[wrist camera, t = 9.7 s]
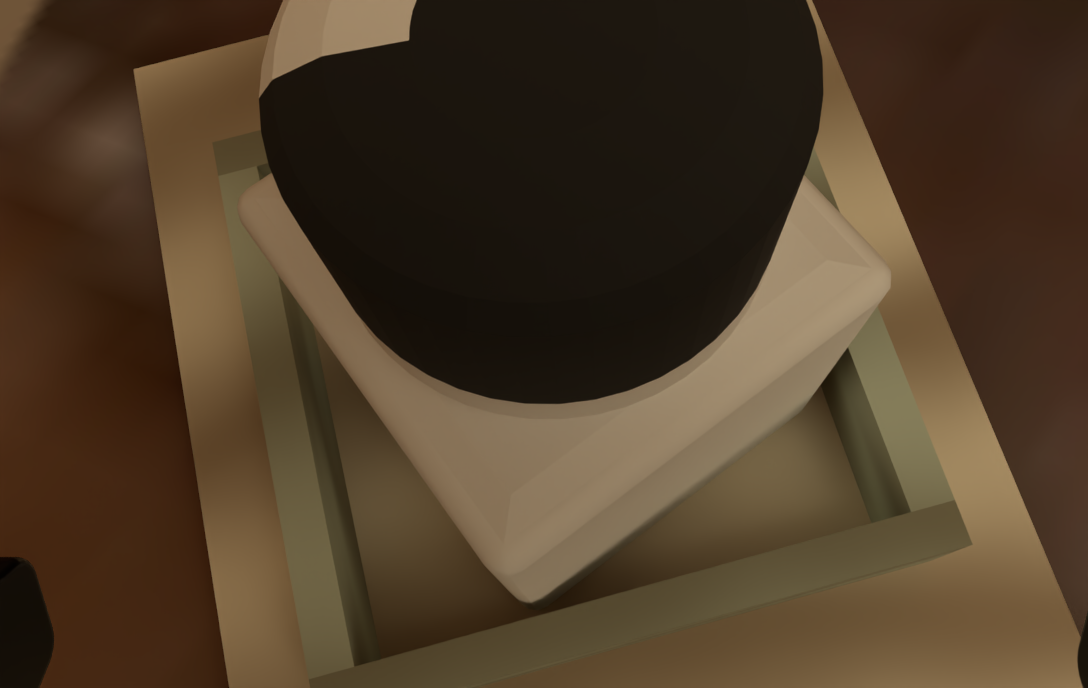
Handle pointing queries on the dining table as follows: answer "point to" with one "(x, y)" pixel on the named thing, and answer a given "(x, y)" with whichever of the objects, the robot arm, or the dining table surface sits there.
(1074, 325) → the dining table surface
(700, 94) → the medicine bottle
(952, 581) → the holder board
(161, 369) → the dining table surface
